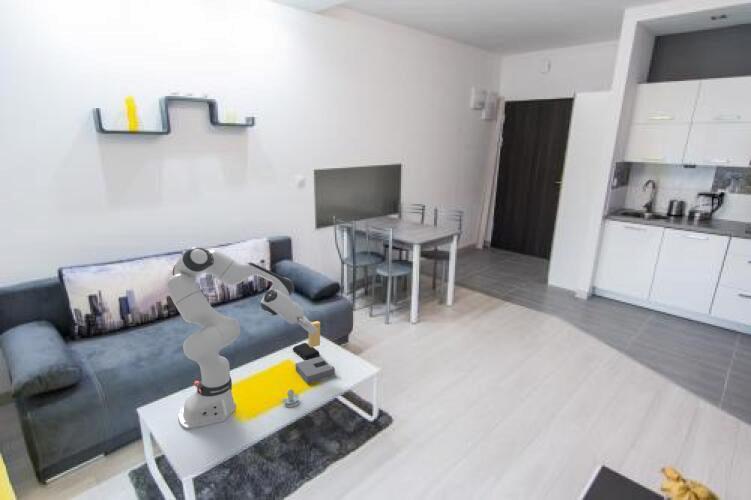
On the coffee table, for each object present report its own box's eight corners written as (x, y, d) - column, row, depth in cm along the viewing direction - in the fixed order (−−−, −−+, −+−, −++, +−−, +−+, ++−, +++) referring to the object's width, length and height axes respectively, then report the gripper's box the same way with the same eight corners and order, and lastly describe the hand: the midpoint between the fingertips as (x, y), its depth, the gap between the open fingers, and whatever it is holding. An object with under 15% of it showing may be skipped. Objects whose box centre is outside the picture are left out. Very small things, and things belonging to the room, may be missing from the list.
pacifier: (301, 404, 178) (296, 397, 183) (302, 392, 177) (296, 385, 181) (286, 410, 174) (281, 402, 179) (286, 397, 173) (281, 390, 177)
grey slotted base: (307, 384, 193) (307, 375, 192) (295, 370, 204) (295, 362, 203) (334, 375, 201) (334, 367, 200) (322, 362, 213) (322, 354, 211)
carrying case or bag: (322, 355, 221) (307, 345, 231) (322, 350, 220) (307, 340, 230) (305, 361, 213) (291, 351, 224) (305, 356, 213) (291, 346, 223)
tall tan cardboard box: (310, 347, 195) (310, 324, 192) (308, 345, 197) (308, 322, 194) (319, 345, 197) (320, 322, 194) (317, 343, 199) (318, 320, 196)
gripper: (307, 316, 179) (326, 332, 187) (291, 301, 196) (309, 316, 203) (297, 328, 178) (317, 343, 185) (282, 311, 195) (301, 325, 202)
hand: (313, 328), depth 194 cm, fingers closed on tall tan cardboard box, 2 cm apart
